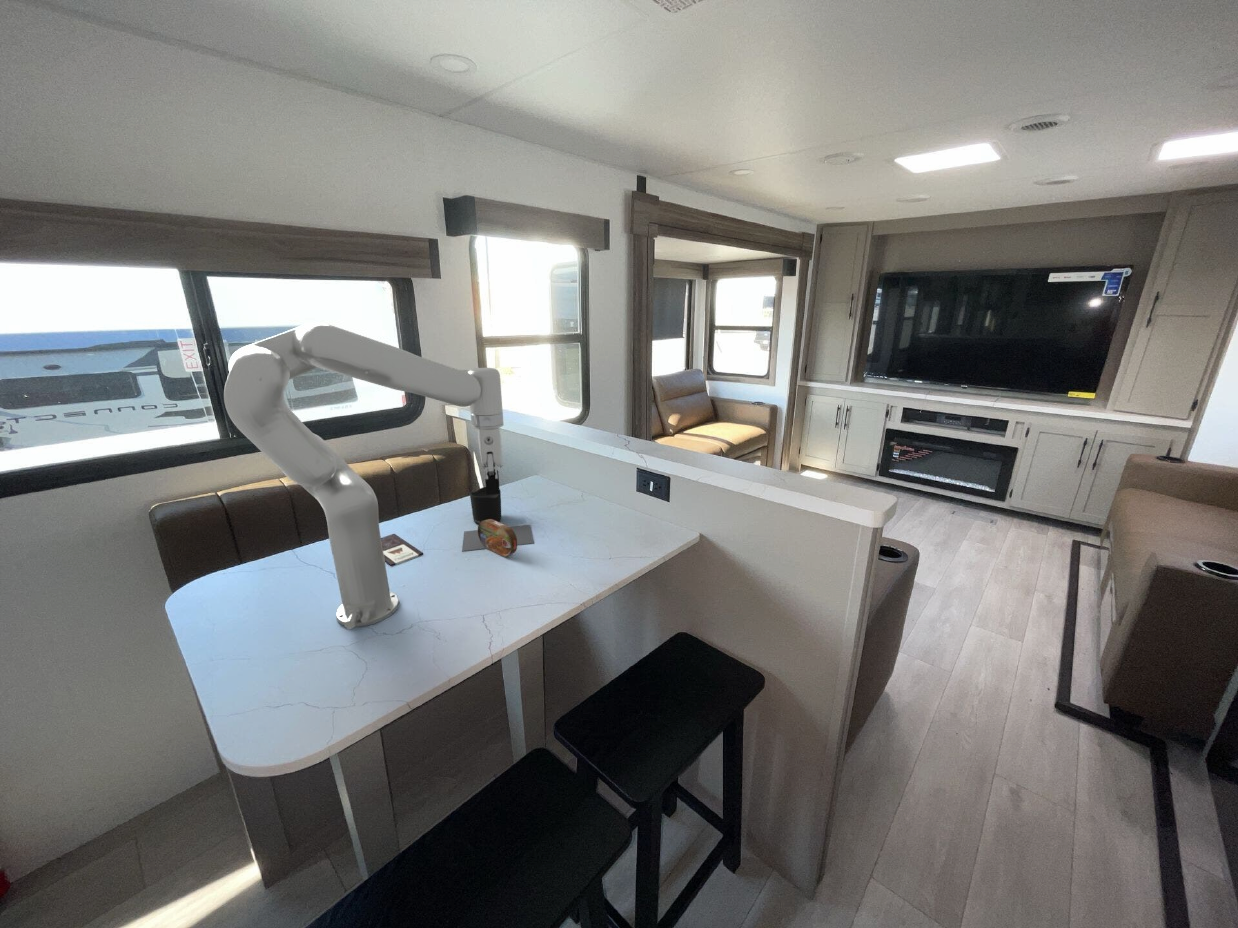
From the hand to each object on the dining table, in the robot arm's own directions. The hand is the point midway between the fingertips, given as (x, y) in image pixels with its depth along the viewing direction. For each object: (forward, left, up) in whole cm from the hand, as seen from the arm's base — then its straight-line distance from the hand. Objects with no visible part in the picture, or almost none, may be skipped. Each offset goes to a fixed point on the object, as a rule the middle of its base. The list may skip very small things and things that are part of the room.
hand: (493, 489), depth 122 cm
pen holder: (+30, +3, -22) cm, 37 cm away
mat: (+16, 0, -22) cm, 27 cm away
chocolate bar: (+16, +29, -22) cm, 40 cm away
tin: (+8, 0, -22) cm, 23 cm away
